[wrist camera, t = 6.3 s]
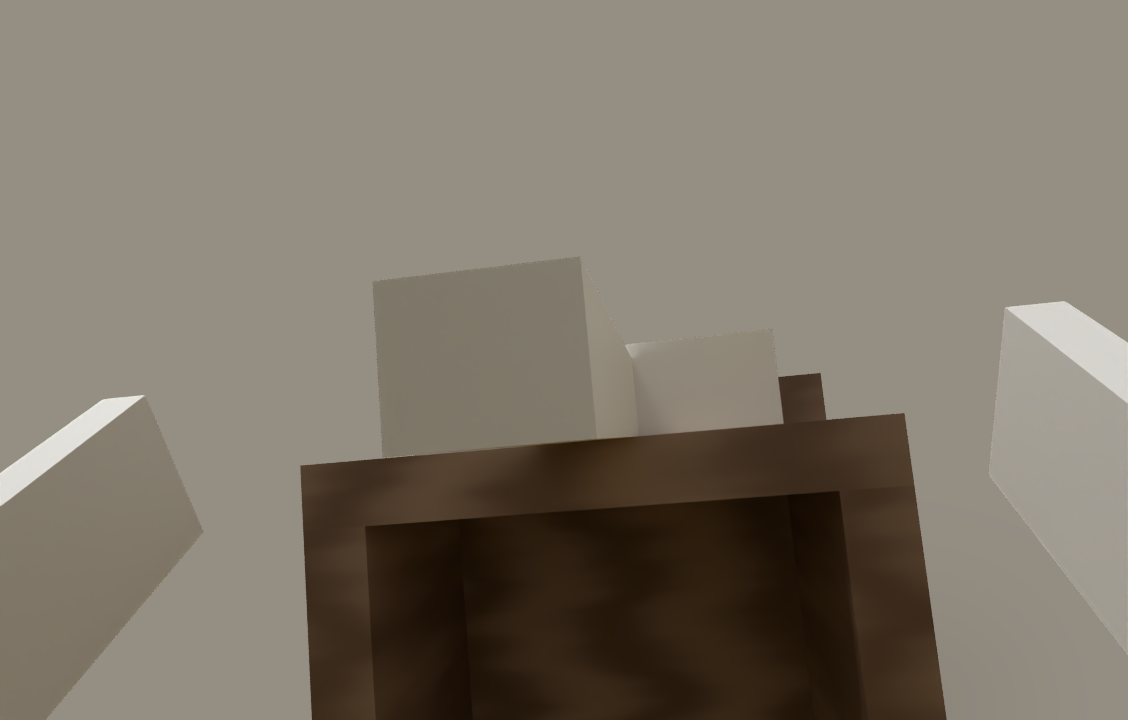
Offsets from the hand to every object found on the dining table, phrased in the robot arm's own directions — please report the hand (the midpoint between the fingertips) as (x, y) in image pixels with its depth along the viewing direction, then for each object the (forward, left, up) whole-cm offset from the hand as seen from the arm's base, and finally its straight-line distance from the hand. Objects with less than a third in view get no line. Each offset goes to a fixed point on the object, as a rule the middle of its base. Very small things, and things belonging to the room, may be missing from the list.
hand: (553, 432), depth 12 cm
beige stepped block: (-1, +9, 0) cm, 9 cm away
